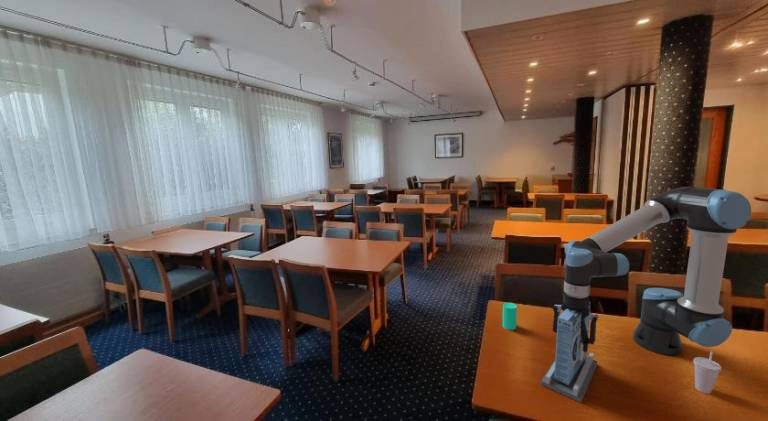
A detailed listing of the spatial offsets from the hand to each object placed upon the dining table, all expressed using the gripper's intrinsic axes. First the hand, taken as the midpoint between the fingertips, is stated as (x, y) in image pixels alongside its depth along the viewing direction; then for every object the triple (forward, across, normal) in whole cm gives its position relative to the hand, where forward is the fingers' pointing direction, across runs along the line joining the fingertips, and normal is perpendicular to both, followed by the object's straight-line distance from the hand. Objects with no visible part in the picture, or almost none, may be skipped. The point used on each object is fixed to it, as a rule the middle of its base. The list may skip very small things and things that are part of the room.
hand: (571, 354), depth 111 cm
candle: (+8, -29, +17) cm, 35 cm away
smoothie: (+8, +34, +20) cm, 40 cm away
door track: (+8, 0, 0) cm, 8 cm away
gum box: (+5, 0, 0) cm, 5 cm away
